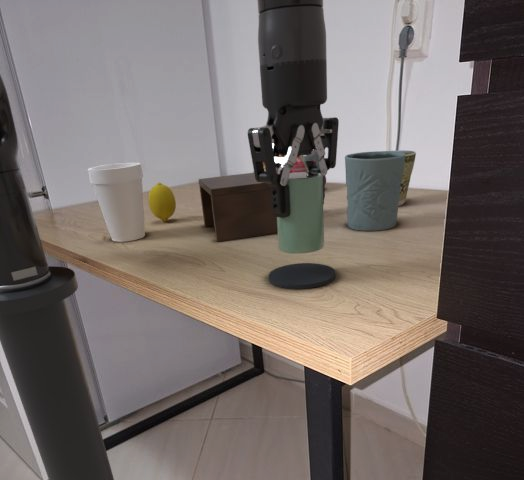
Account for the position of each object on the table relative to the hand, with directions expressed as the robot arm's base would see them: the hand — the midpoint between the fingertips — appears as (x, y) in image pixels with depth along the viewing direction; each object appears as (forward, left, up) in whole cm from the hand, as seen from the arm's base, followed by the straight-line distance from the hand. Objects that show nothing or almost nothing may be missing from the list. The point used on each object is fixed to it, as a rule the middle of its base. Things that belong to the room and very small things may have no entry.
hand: (299, 210), depth 63 cm
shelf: (0, +32, -9) cm, 33 cm away
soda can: (+13, +36, -9) cm, 39 cm away
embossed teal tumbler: (+21, +21, -9) cm, 31 cm away
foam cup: (-22, +38, -9) cm, 45 cm away
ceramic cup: (+33, +37, -9) cm, 50 cm away
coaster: (0, 0, -9) cm, 9 cm away
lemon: (-14, +48, -9) cm, 51 cm away
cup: (0, 0, -5) cm, 5 cm away
